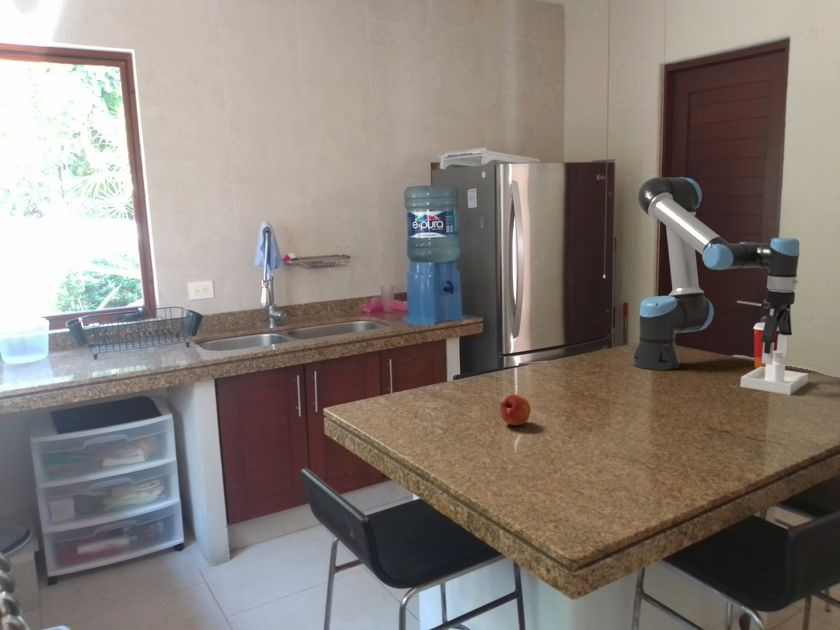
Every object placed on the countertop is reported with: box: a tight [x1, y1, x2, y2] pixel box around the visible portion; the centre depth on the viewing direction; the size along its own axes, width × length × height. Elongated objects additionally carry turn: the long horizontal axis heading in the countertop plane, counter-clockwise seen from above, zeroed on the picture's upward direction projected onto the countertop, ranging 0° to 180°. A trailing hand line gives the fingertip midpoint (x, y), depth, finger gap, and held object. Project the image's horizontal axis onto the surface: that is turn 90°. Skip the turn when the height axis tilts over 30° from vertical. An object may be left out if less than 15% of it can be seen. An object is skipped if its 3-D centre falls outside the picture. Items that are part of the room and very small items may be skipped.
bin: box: [740, 367, 809, 396], centre depth 202 cm, size 14×18×3 cm
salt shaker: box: [765, 351, 786, 383], centre depth 202 cm, size 4×4×10 cm
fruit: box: [499, 394, 532, 426], centre depth 168 cm, size 8×8×8 cm
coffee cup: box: [753, 322, 781, 369], centre depth 222 cm, size 8×8×15 cm
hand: (774, 359), depth 202 cm, fingers open, 13 cm apart
